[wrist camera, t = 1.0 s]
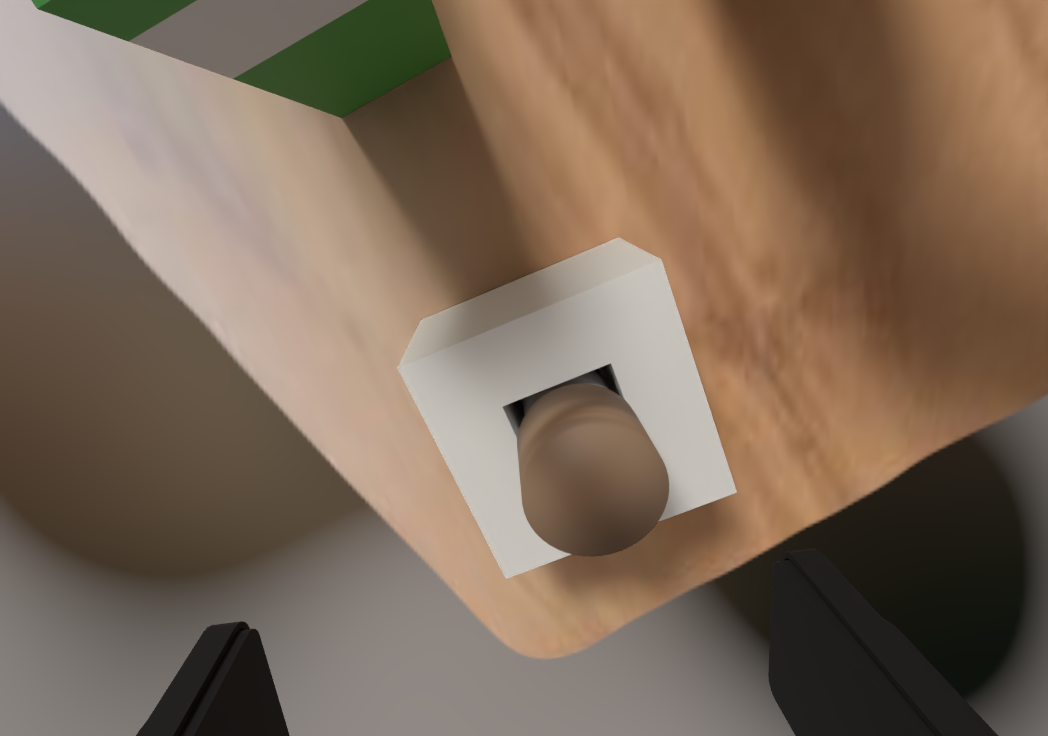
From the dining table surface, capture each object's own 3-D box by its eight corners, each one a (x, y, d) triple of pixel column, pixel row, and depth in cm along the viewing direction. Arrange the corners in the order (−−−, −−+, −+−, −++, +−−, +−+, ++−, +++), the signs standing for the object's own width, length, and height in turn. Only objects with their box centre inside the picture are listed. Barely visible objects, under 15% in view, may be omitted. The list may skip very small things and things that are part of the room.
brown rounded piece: (586, 316, 38) (642, 403, 23) (617, 399, 40) (687, 525, 25) (496, 352, 38) (498, 460, 24) (532, 433, 40) (553, 575, 26)
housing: (618, 237, 37) (661, 259, 28) (681, 419, 41) (736, 492, 32) (420, 319, 38) (397, 368, 29) (502, 488, 43) (505, 579, 33)
